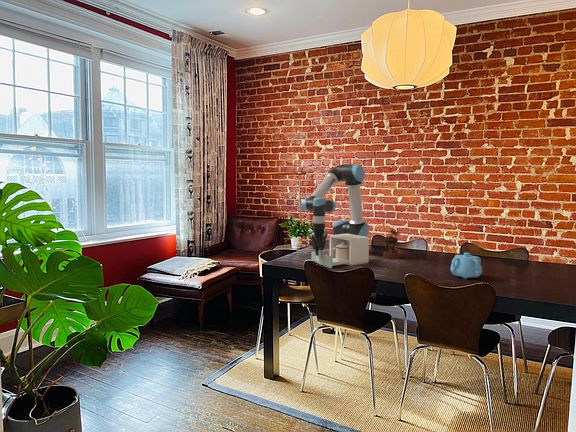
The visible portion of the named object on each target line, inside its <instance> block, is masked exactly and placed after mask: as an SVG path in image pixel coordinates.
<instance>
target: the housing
mask: <svg viewBox="0 0 576 432" xmlns="http://www.w3.org/2000/svg"><path fill="white" fill-rule="evenodd" d="M341 242H344V244H346V245H348V246H349V263H347V264H344V265H346V266H351V267H353V266H358V265H364V264H368V263H369V258H370V257H369V255H370V254H369V253H370V236H367V237H365V236H359V235H353V234H338V235H333V234H331V235H329V256H335V255H334V254H333V253H332V250H333V248H336V245H339V244H341ZM334 253H335V254H336V249H334Z"/></svg>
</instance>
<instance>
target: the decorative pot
mask: <svg viewBox="0 0 576 432" xmlns="http://www.w3.org/2000/svg"><path fill="white" fill-rule="evenodd" d="M481 259H482V258H481V257H479V256H474V255H472V254H470V252H463V254H455V256H454V257H453V259H452V260H451V264H450V271H451V272H450V273H452V274H453V275H454V276H455V277H461V278H462V279H464V280H466V279H468V278H470V279H471V278H472V279H477V278H478V277H480V276H481V275H482V273H483V269H482V265H481V262H482V260H481Z"/></svg>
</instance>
